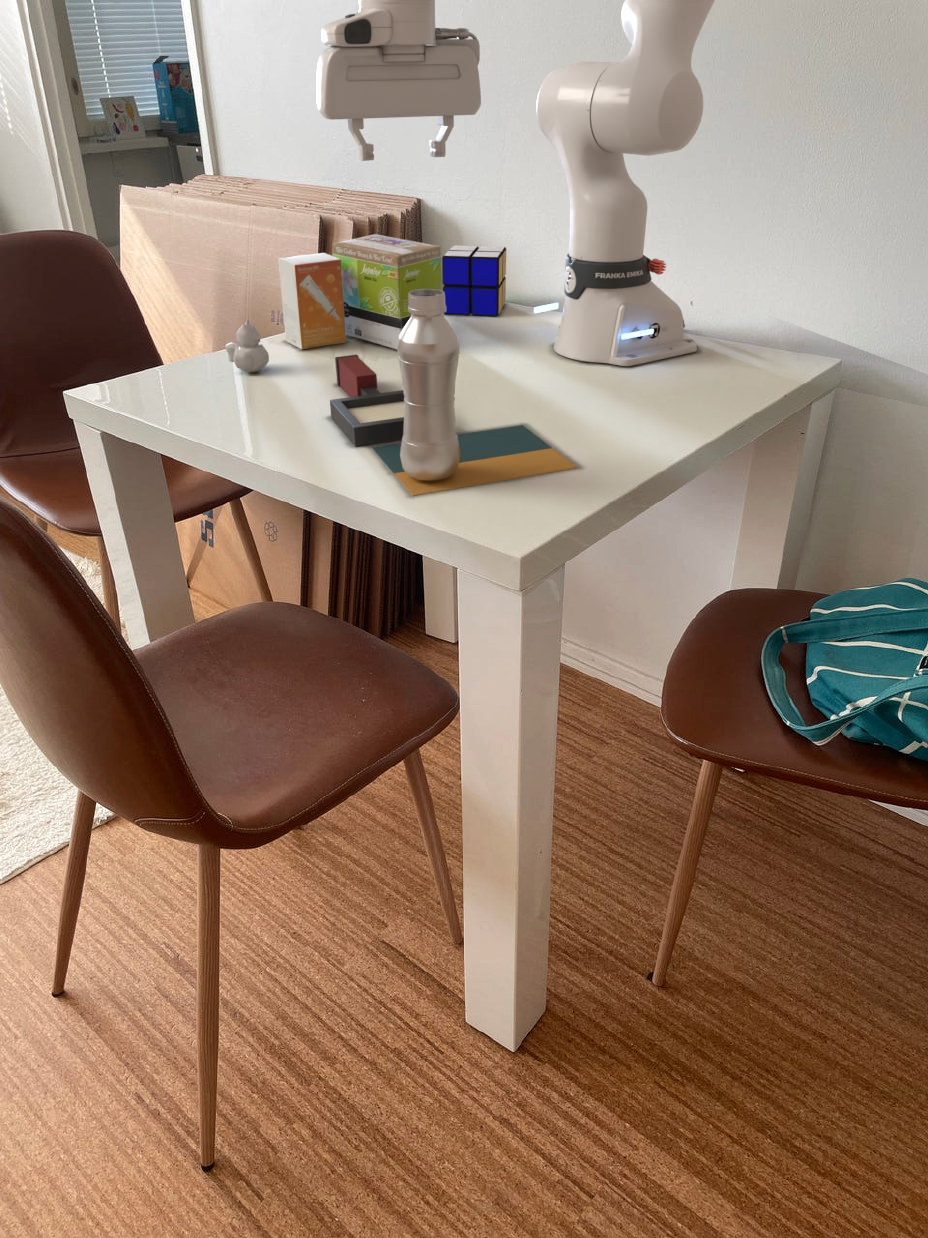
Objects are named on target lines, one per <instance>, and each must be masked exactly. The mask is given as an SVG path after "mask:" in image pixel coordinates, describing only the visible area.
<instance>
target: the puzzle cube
mask: <svg viewBox="0 0 928 1238" xmlns="http://www.w3.org/2000/svg"><path fill="white" fill-rule="evenodd" d="M506 274H507V248H506V246H495V245H494V246H492V245H491V246H489V245H481V246H478V245H455V244H454V245H452V246H451V248H449V249H448V250H447V252H445V253H444V255H443V256H442V257H441V281H442V285H443V287H442V291H444V292H445V305H446V312H444V316H445V315H447V316H470V315H471V316H473V317H498V316H499V315H500V313H501V311H502V309H503V308H504V306H505V303H506V292H507V291H506V290H507V288H506V287H507V278H506Z"/></svg>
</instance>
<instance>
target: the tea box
mask: <svg viewBox="0 0 928 1238" xmlns="http://www.w3.org/2000/svg"><path fill="white" fill-rule="evenodd" d="M331 244H332V256H334V257H336V258H339V259H341V271H342V286H343V302H344V318H345V334H346V336H350V337H353V338H357V339H360V340H364V341H368V342H370V343H374V344H378V345H381V346H384V347H387V348H390V349H393V350H395V351H397V344H398V340H399V336H400V334H401V332H402V330H403V329H404V327H405V325H406V324H407V322H408V321H409V319H410V318H411V313H409V312H408V306H409V299H408V295H409V292H410V291H413V290H418V289H437V290H442V257H441V256H442V252H441V251H442V249H441V245H436V244H430V243H425V242H419V241H415V240H410V239H409V240H408V239H403V238H398V237H393V236H387V235H382V234H376V233H374V234H373V233H372V234H370V235H366V236H360V237H357V238H351V239H349V240H348V239H347V240H343V241H339V242H332V243H331Z"/></svg>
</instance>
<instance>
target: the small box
mask: <svg viewBox="0 0 928 1238" xmlns="http://www.w3.org/2000/svg"><path fill="white" fill-rule="evenodd" d="M277 263H278V275H279V285H280V294H281V305H282V306H281V307H282V315H283V323H284V335H285V341H286V342H287V343H289V344H291V345H293V346H294V347H296V348H299V349H300V350H306V349H312V348H319V347H324V346H330V345H336V344H337V345H338V344H345V343H346V342H347V335H346V334H345V318H344V302H343V286H342V271H341V259H339V258H336V257H334V256H333V255H331V254H329V253H326V252H320V253H318V252H317V253H312V254H301V255H300V254H299V255H293V256H287V257H278V258H277Z"/></svg>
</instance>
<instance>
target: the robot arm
mask: <svg viewBox="0 0 928 1238" xmlns="http://www.w3.org/2000/svg"><path fill="white" fill-rule="evenodd" d="M715 2H716V0H624V2H623V4H622V7H621V25H622V30H623V33H624V35H625V38H626V39H627V41H628V42H629V43H630V45H631V47H630V50H629V52H628V54H627V55H626V56H625V57H624V58H623V59H622V60H620V61H579V62H575V63H572V64H568V65H565V66H562V67H558V68H556V69H553V70H552V71H551V72H549V73H548V74H547V75H546V77H545V78H544V80H543V81H542V83H541V85H540V88H539V91H538V93H537V98H536V106H535V108H536V109H535V110H536V118H537V119H536V120H537V123H538V126H539V129H540V131H541V132H542V134H543V135H544V137H545V138H546V139H547V140H548V141H549V143H550V144H551V145H552V147H553V148H554V150H555V152H556V154H557V156H558V159H559V161H560V164H561V167H562V169H563V172H564V176H565V180H566V184H567V185H566V186H567V189H568V196H569V240H568V241H569V242H568V243H569V244H568V253H567V254H566V255H565V263H564V264H565V266H564V276H563V277H564V279H563V281H564V282H563V288H564V291H563V292H564V303H563V309H562V313H561V314H562V315H561V319H560V325H559V329H558V331H557V336H556V337H555V338H556V339H555V342H554V345H553V346H552V347H553V351H554V352H555V353H557V354H558V355H560V356H562V357H565V358H568V359H570V360H571V359H572V360H576V361H581V362H586V363H587V362H588V363H601V364H610V365H615V366H620V367H632V366H636V365H642V364H645V363H651V362H654V361H660V360H663V359H670V358H673V357H677V356H678V357H679V356H681V355H687V354H690V353H691V354H692V353H695V352H697V350H698V349H697V346H698V345H697V341H695V340H694V338H692V337H690V336H689V335H687V334H685V333H684V332H685V331H684V329H685V328H686V324H685V320H684V315H683V310H682V309H681V307H680V306H679V304H678V303H676V301H674V300H673V299H672V298H671V297H670V296H668V294H666V293H665V292H664V291H663V290H662V289H661V288H660V287H659V286H658V285H656V284H655V283H654V281H652V275H651V273H653V274H655V275H658V276H660V275H662V274H664V273H665V271H666V268H667V263H666V262H665V261H664V260H663V259H662V260H661V259H658V258H653V259H650V258H649V257H648V256H646V255H645V254H644V250H645V238H646V228H647V218H648V201H647V198H646V195H645V193H644V192H643V190H642V189H641V188H640V187H639V186H638V185H637V184H636V183H635V182H634V181H633V180H632V178H631V176H630V174H629V172H628V169H627V167H626V162H625V158H624V154H625V155H626V154H627V155H634V156H635V155H636V156H637V155H638V156H647V157H650V156H656V155H664V154H669V153H672V152H673V153H674V152H678V151H680V150H682V149H684V148H686V146H687V145H688V144H690V142H691V141H692V140H693V138H694V136H695V135H696V133H697V131H698V130H699V127H700V125H701V122H702V118H703V114H704V95H703V90H702V87H701V84H700V82H699V80H698V78H697V76H696V75H695V73H694V72H693V68H692V58H693V57H692V56H693V52H694V48H695V45H696V42H697V40H698V37H699V35H700V33H701V30H702V28H703V26H704V24H705V22H706V19H707V18H708V15H709V14H710V11H711V9H712V7H713V5H714V3H715ZM358 6H359V8H358V11H357V12H355V13H349V14H347V15H344V16H343V17H342V18H339V19H336V20H334V21H331V22H329V23H327V24H325V25H323V26H322V27H321V30H320V32H321V33H320V34H321V35H320V36H321V41H322V43H323V45H324V46H326V48H325V49H324V50H323V51H322V52H321V53H320V54H319V57H318V61H317V66H316V67H317V68H316V69H317V70H316V104H317V110H318V112H319V113H320V114H321V116H322V117H323V118H324V119H326V120H332V121H334V120H347V129H348V131H349V133H350V134H351V136H352V138H353V139H354V141H355V143H356V144H357V149H358V150H357V151H358V159H359V160H360V161H362V162H364V161H366V162H367V161H374V160H375V154H374V151H375V150H374V144H373V143H369V142H366V139H365V138H364V135H363V134H362V132H361V130H364V128H365V126H364V123H365V122H364V119H389V118H391V119H392V118H419V117H420V118H421V117H422V118H423V117H425V118H426V117H437V125H438V126H441V127H440V129H439V131H438V134H437V136H436V137H435V140H429V147H430V149H429V154H430V157H432V158H445V157H446V154H447V153H446V151H447V150H446V142H447V141H448V140H449V137H450V135H451V133H452V131H453V129H454V126H455V116H475V115H476V114H477V113H478V111H479V109H480V108H481V106H482V94H481V93H482V92H481V81H480V80H481V79H480V72H479V64H480V58H481V57H480V56H481V51H480V50H481V48H480V47H481V46H480V45H481V44H480V41H479V39H478V38H477V35H475V34H474V33H473V32H471V31H469V29H468V28H467V27H466V28H465V27H458V28H448V27H436V0H358ZM469 37H471V38H469ZM558 309H559V302H554V303H550V304H549V303H548V304H545V305H539V306H535V307H533V313H534V314H538V313H542V312H543V313H545V312H548V311H554V310H558Z"/></svg>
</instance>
